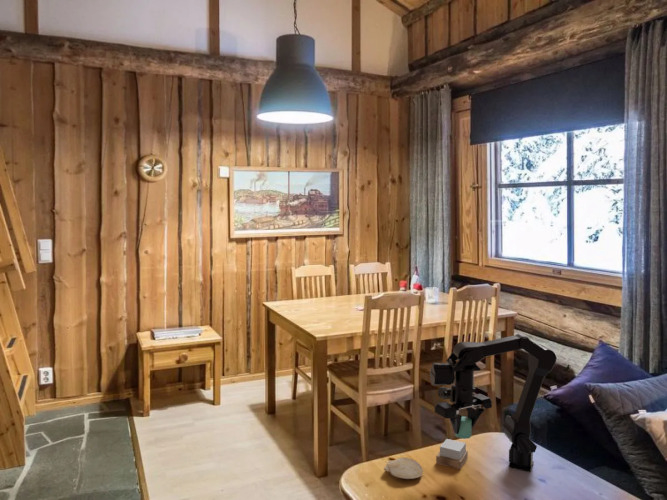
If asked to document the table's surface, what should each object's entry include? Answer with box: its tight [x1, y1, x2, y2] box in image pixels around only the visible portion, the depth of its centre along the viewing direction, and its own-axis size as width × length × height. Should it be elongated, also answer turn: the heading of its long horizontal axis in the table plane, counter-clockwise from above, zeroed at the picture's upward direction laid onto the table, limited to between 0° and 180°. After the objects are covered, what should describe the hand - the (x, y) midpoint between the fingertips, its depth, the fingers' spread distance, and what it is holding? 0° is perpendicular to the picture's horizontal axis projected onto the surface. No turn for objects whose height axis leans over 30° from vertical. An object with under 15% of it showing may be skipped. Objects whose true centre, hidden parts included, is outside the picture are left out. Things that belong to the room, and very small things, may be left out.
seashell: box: [383, 456, 424, 480], centre depth 166 cm, size 12×12×3 cm
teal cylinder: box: [454, 416, 472, 440], centre depth 168 cm, size 5×5×5 cm
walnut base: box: [435, 450, 469, 470], centre depth 174 cm, size 8×8×3 cm
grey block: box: [439, 438, 467, 460], centre depth 174 cm, size 6×6×3 cm
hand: (463, 431), depth 168 cm, fingers closed on teal cylinder, 5 cm apart
